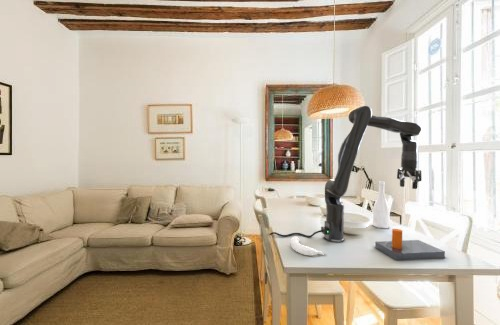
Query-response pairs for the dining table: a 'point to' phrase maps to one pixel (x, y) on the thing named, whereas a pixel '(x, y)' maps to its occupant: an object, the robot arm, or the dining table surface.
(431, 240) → the dining table surface
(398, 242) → the plug
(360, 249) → the dining table surface
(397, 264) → the dining table surface
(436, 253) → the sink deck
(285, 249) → the dining table surface
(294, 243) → the banana
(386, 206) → the wine bottle
